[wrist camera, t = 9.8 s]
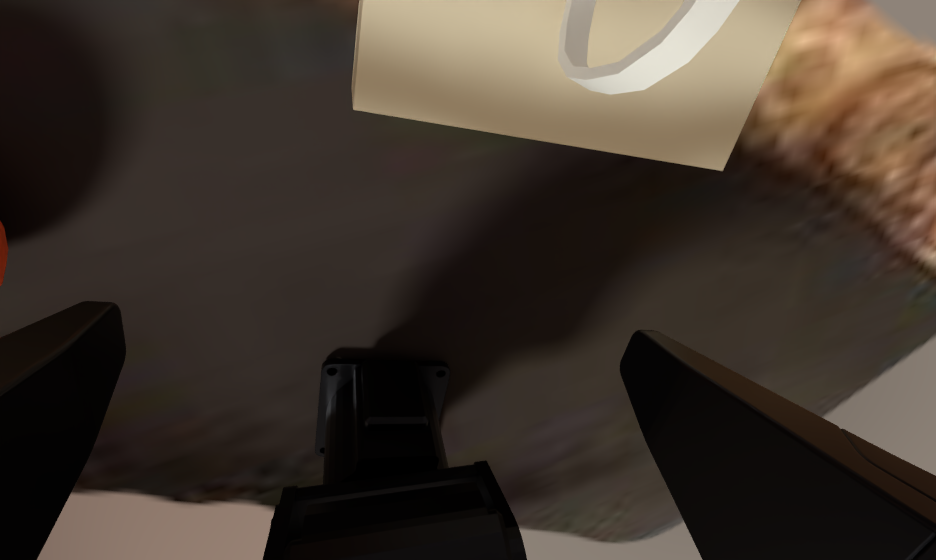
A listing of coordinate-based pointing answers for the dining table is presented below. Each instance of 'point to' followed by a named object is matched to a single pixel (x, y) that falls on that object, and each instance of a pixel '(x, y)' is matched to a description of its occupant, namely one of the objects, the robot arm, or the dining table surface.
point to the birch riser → (544, 82)
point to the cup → (649, 62)
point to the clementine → (3, 252)
